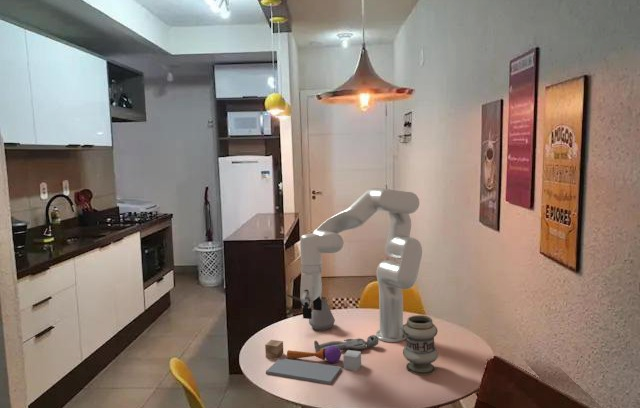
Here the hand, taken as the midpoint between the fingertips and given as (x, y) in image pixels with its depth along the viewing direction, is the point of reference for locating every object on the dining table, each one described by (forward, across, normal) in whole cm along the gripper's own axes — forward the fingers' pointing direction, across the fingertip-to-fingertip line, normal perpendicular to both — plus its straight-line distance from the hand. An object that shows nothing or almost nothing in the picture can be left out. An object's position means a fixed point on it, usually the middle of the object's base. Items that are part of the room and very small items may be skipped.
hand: (312, 314), depth 170 cm
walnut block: (+18, +1, -16) cm, 24 cm away
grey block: (+18, +1, +15) cm, 23 cm away
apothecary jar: (+18, -5, +38) cm, 42 cm away
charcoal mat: (+18, +10, 0) cm, 20 cm away
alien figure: (+18, -13, +8) cm, 24 cm away
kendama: (+18, 0, 0) cm, 18 cm away
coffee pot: (+18, -30, -14) cm, 38 cm away
